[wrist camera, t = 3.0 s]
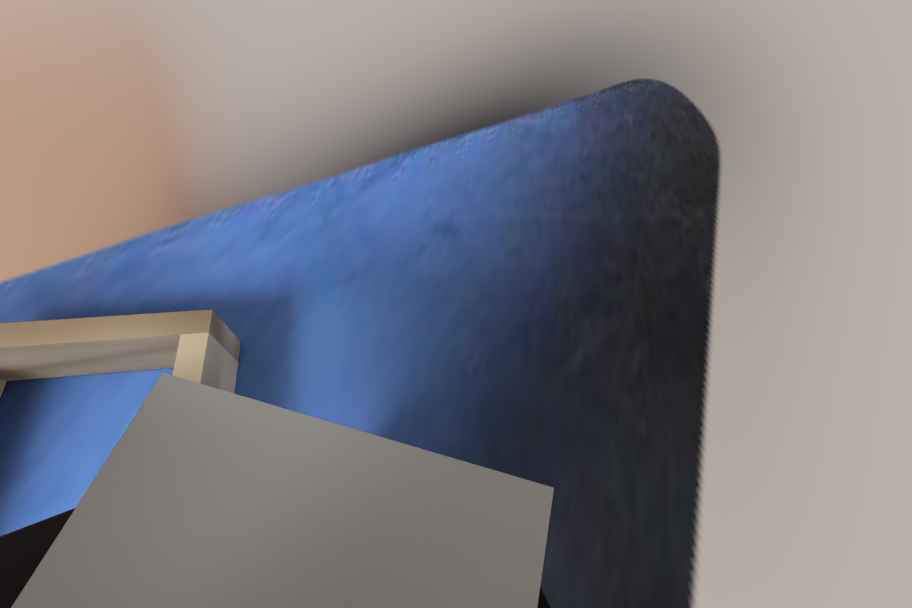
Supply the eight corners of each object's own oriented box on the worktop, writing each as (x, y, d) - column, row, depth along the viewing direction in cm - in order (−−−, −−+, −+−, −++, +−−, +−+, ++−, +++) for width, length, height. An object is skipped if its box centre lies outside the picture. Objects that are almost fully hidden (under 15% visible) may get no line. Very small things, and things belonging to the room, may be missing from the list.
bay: (208, 598, 12) (162, 611, 10) (-132, 649, 11) (-271, 676, 9) (240, 341, 16) (212, 309, 13) (-11, 360, 14) (-86, 328, 12)
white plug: (419, 692, 11) (436, 1339, 2) (273, 645, 12) (-272, 1043, 2) (458, 524, 13) (553, 487, 4) (333, 486, 14) (163, 372, 4)
